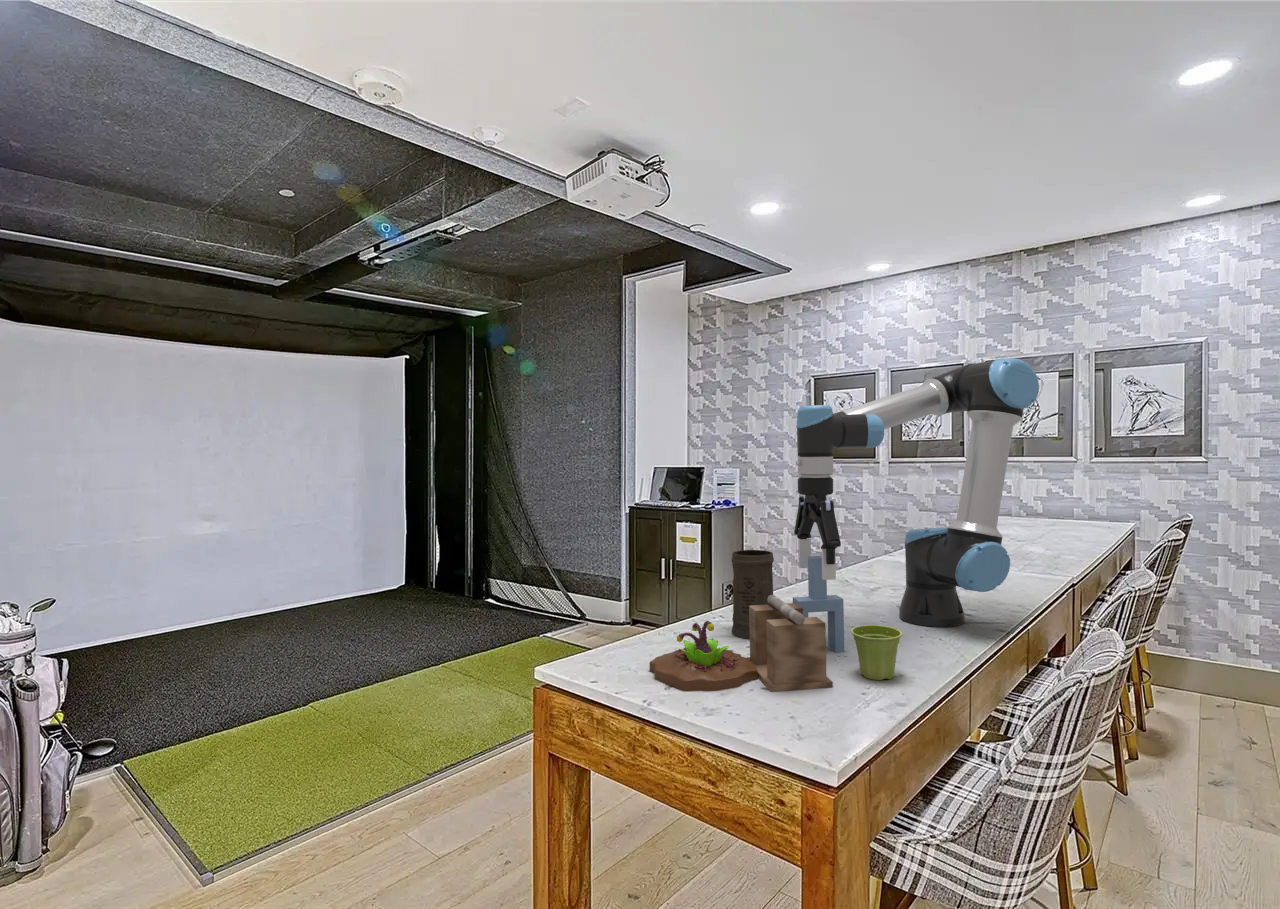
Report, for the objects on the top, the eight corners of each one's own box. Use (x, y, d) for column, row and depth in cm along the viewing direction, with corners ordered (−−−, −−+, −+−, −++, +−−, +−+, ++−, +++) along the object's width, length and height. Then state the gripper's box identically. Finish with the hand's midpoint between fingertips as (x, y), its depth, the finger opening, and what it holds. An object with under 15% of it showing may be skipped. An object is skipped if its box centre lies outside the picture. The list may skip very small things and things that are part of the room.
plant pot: (897, 687, 127) (896, 640, 126) (846, 679, 132) (845, 634, 131) (907, 672, 135) (906, 628, 134) (858, 664, 140) (857, 622, 139)
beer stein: (777, 641, 157) (775, 553, 158) (730, 639, 159) (728, 553, 160) (777, 627, 172) (775, 547, 173) (734, 626, 174) (733, 547, 175)
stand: (799, 658, 144) (798, 592, 144) (832, 687, 127) (831, 612, 127) (744, 662, 143) (743, 595, 142) (770, 691, 126) (769, 616, 126)
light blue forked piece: (836, 646, 152) (834, 554, 152) (844, 651, 148) (842, 557, 148) (793, 649, 151) (791, 556, 150) (800, 654, 147) (798, 559, 146)
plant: (684, 700, 124) (683, 639, 124) (638, 669, 141) (636, 615, 141) (774, 681, 133) (773, 623, 132) (719, 653, 150) (718, 603, 150)
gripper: (779, 474, 161) (780, 563, 161) (821, 479, 136) (822, 585, 136) (810, 473, 162) (811, 562, 162) (857, 478, 137) (858, 584, 137)
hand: (816, 573), depth 149 cm, fingers open, 13 cm apart
